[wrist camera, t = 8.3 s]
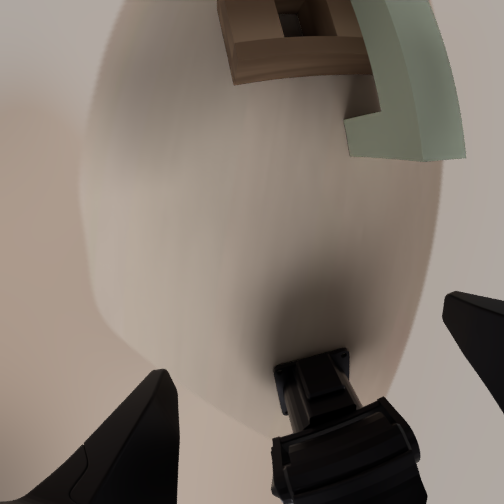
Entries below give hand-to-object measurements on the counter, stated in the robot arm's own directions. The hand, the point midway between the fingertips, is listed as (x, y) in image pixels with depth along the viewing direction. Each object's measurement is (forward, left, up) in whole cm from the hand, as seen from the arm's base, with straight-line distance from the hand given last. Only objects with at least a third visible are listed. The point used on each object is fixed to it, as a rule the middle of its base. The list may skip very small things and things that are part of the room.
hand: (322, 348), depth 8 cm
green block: (+9, -8, -12) cm, 17 cm away
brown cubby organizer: (+13, -6, -12) cm, 19 cm away
